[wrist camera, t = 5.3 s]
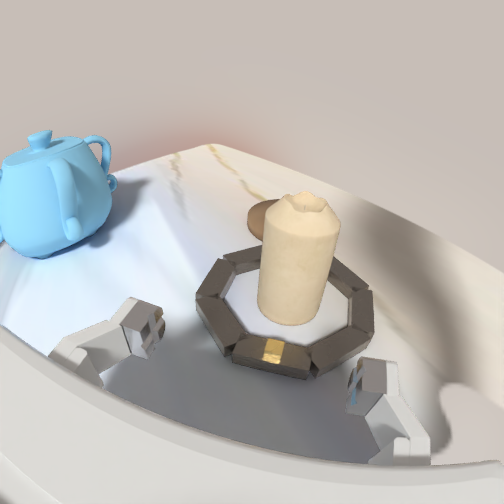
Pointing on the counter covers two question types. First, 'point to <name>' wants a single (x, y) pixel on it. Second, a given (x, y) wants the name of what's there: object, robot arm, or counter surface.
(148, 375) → the counter surface
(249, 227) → the coaster
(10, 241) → the decorative pot
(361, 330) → the collar
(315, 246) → the candle
